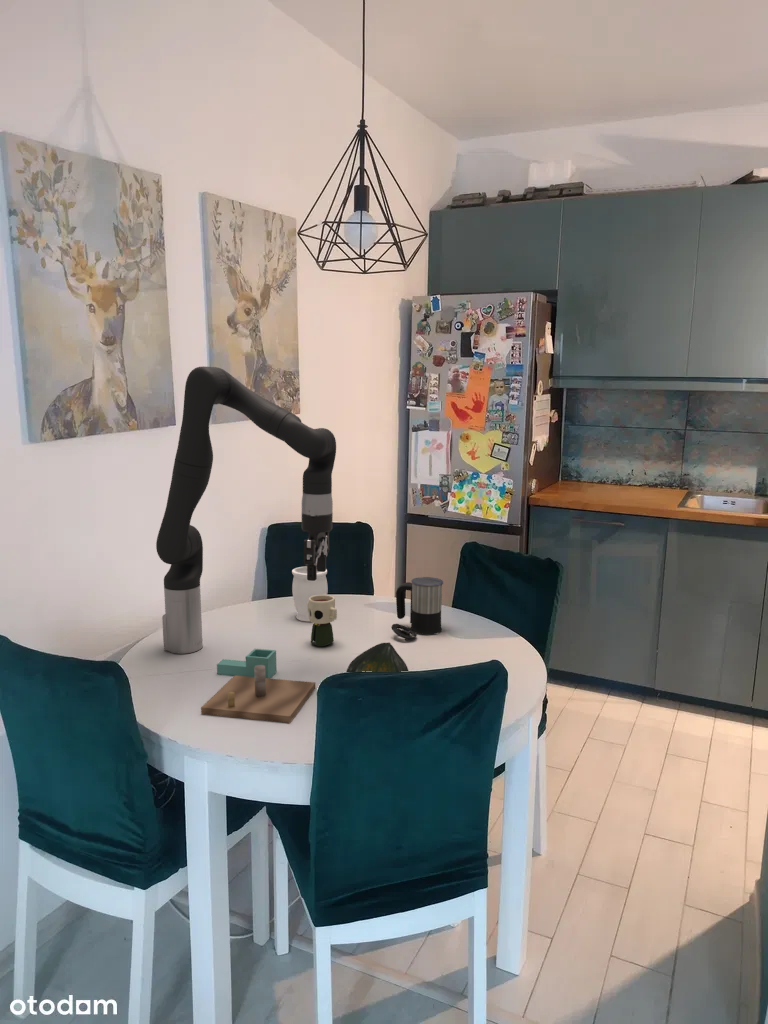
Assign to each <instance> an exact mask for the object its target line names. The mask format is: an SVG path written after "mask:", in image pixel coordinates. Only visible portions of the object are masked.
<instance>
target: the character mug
mask: <svg viewBox="0 0 768 1024" xmlns="http://www.w3.org/2000/svg"><path fill="white" fill-rule="evenodd" d="M307 605H308V612H309V620H310V621H311V622H310V623H312V628H311V634H310V643H311V645H313V644H314V643H315V644H314V646H318V647H324V646H329V645H330V644H332V643H334V631H333V625H332V622H335V621H336V620H337V617H338V610H337V608H336V598H335V596H333V595H330V594H327V595H314V596H311V597H310V598H309V601H308V603H307Z"/></svg>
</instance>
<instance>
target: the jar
mask: <svg viewBox="0 0 768 1024" xmlns="http://www.w3.org/2000/svg"><path fill="white" fill-rule="evenodd" d="M291 573H292V575H293V579H292V586H291V590H292V592H291V593H292V597H293V602H294V607H295V610H296V612H297V614H296V619H297V620H299V621H301V622H307V623H309V622H310V623H312V622H311V621H310V620H309V612H308V605H307V603H308V601H309V598H310V597H311V596H314V595H328V591H329V590H328V581H327V577H326V575H327V574H328V569H327V568H326V571H325V572H319V571H317V579H316V580H315V581H310V580H307V565H305V566H299V567H295V568H293V569H292V570H291Z"/></svg>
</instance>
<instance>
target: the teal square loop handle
mask: <svg viewBox="0 0 768 1024" xmlns="http://www.w3.org/2000/svg"><path fill="white" fill-rule="evenodd" d="M256 665H264V666H265V674H266V678H270V679H272V677H273V676H274V675H275V674H276V673H277V650H275V649H264V648H253V649H252V650H251V651H250V652H249V653H248V654H247V655H246V656H245V660H237V659H228V658H226V659H225V658H222V659H221V660H220V661H219V662H217V664H216V671H217V672H216V673H217V675H224V676H233V677H234V676H235V675H237V676H248V677H255V673H254V667H255V666H256Z"/></svg>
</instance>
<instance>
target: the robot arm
mask: <svg viewBox="0 0 768 1024" xmlns="http://www.w3.org/2000/svg"><path fill="white" fill-rule="evenodd" d="M183 395H184V396H183V397H184V398H183V410H182V418H181V419H182V421H181V426H180V430H179V431H180V432H179V437H178V443H177V448H176V453H175V456H174V457H175V458H174V462H173V467H172V468H173V469H172V474H171V475H172V476H171V481H170V486H169V492H168V496H167V502H166V507H165V510H164V514H163V517H162V520H161V523H160V527H159V530H158V534H157V538H156V543H155V544H156V545H155V546H156V547H155V548H156V553H157V555H158V557H159V559H160V560H161V561H162V562H163V563H164V564H167V565H170V567H169V569H168V571H167V572H166V574H165V575H164V578H163V592H164V593H163V594H164V596H163V597H164V609H165V610H164V612H165V613H164V614H162V618H161V619H162V639H163V641H162V642H163V651H167V652H170V653H172V654H183V655H184V654H191V653H194V652H197V651H199V650H201V649H202V648H203V645H204V644H203V621H202V599H201V598H202V597H201V596H202V595H201V577H202V575H203V571H204V569H203V568H204V562H203V561H204V560H203V559H204V557H203V556H204V552H203V551H204V547H203V546H204V545H203V539H202V535H201V533H200V531H199V530H198V528H196V527H195V526H193V525H192V524H191V520H192V516H193V514H194V511H195V509H196V508H197V505H198V504H199V502H200V501H201V499H202V497H203V495H204V493H205V491H206V489H207V487H208V485H209V482H210V477H211V473H212V469H213V462H214V452H213V446H212V445H213V444H212V441H211V435H210V421H211V415H212V412H213V408H214V405H222V406H225V407H228V408H231V409H233V410H236V411H238V412H239V413H242V415H244V416H246V417H247V418H248V419H249V420H250V421H251V423H253V424H254V425H256V426H257V427H258V428H260V429H261V430H262V431H264V432H266V433H267V434H269V435H271V436H272V437H275V438H276V439H278V440H279V441H282V442H284V443H285V444H286V445H287V446H289V447H290V448H291V449H293V451H294V452H295V453H298V454H299V455H301V456H302V457H304V458H307V459H308V465H307V467H306V469H305V470H304V472H303V474H302V497H301V530H302V531H303V532H307V533H308V538H307V539H304V540H303V564H304V565H305V566H307V580H310V581H315V580H316V579H317V571H319V572H325V571H326V569H327V557H328V553H329V552H330V532H331V531H332V530H333V515H334V513H333V508H334V507H333V505H334V504H333V495H332V494H333V493H332V491H333V489H332V488H333V486H332V485H333V482H332V481H333V479H332V475H333V469H334V467H335V461H336V456H337V455H336V454H337V439H336V437H335V435H334V433H333V431H331V430H329V429H327V428H324V427H318V428H312V427H310V426H308V425H306V424H305V423H303V422H302V420H301V418H300V417H299V416H297V415H296V414H294V413H292V412H291V411H289V410H287V409H285V408H284V407H281V406H280V405H277V404H276V403H274V402H271V401H270V400H268V399H266V398H265V397H262V396H261V395H259V394H258V393H256V392H255V391H252V390H251V389H250V388H248V387H247V386H246V385H245V384H243V383H242V382H241V381H239V380H238V379H237V378H235V377H234V376H233V375H232V374H230V373H229V372H228V371H226V370H225V369H223V368H221V367H216V366H198V367H197V366H196V367H195V368H193V369H192V370H191V371H190V372H189V374H188V375H187V378H186V381H185V386H184V394H183ZM310 558H311V559H310Z"/></svg>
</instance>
